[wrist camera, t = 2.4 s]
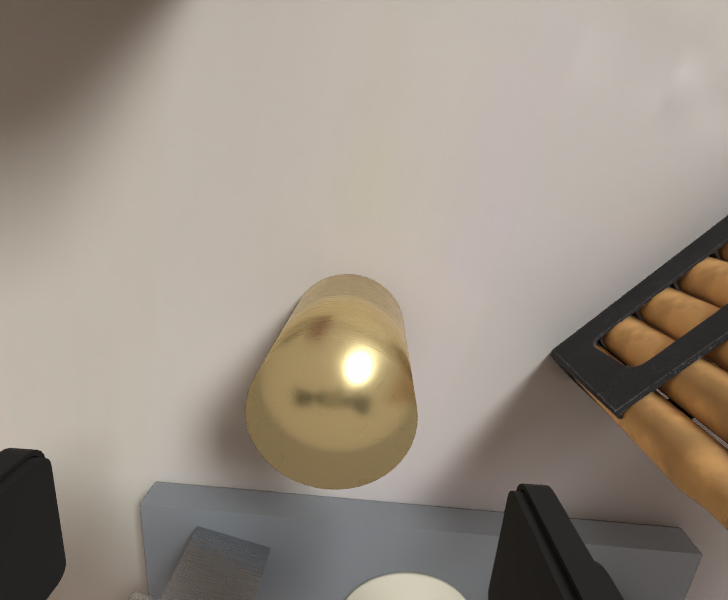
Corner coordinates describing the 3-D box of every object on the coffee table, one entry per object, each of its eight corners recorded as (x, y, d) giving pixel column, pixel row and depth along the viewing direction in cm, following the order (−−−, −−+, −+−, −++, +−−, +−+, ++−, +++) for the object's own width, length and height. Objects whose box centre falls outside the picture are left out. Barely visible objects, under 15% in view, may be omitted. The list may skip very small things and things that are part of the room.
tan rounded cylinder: (409, 279, 18) (427, 346, 11) (397, 382, 19) (407, 496, 13) (294, 269, 18) (244, 330, 11) (291, 372, 19) (245, 482, 13)
